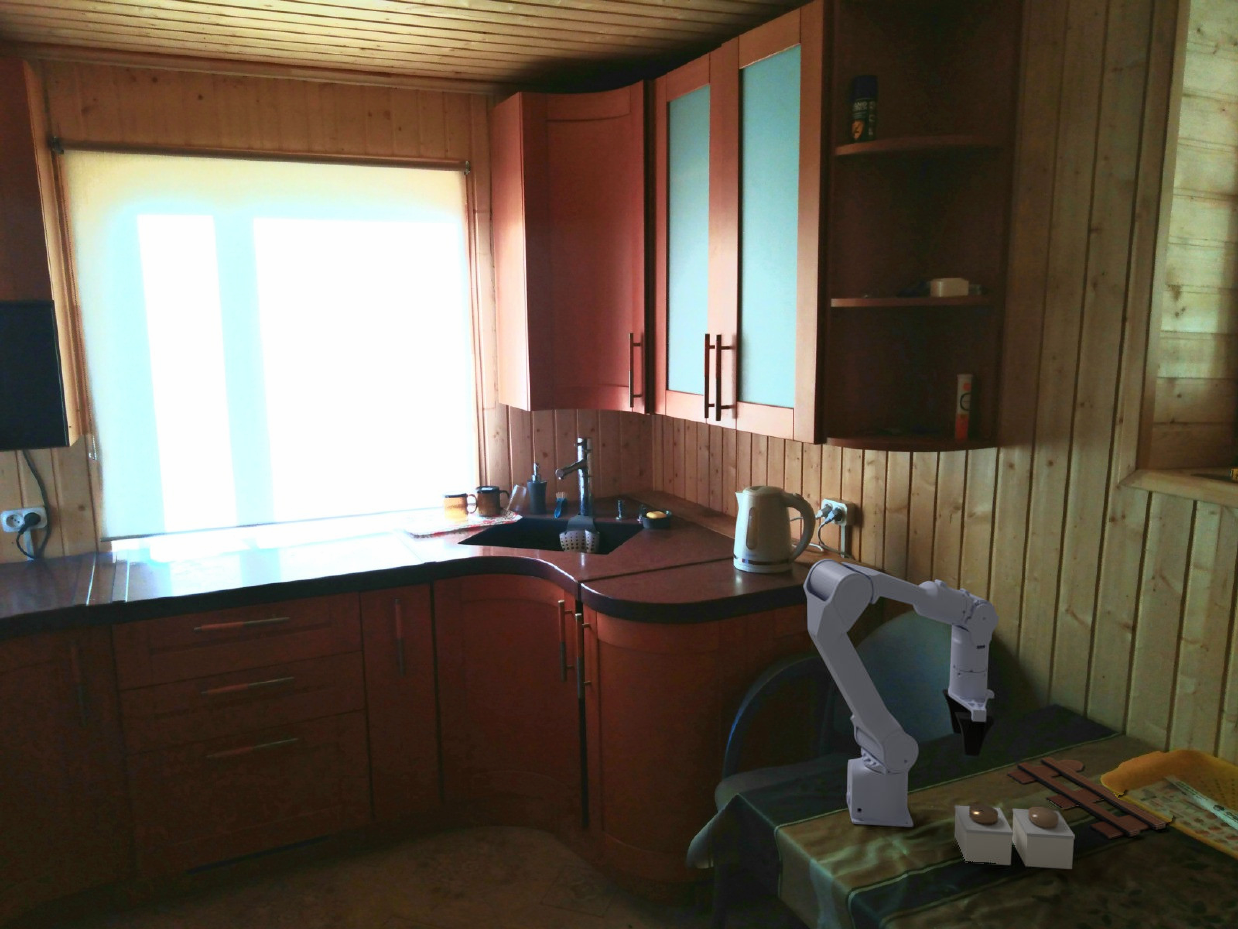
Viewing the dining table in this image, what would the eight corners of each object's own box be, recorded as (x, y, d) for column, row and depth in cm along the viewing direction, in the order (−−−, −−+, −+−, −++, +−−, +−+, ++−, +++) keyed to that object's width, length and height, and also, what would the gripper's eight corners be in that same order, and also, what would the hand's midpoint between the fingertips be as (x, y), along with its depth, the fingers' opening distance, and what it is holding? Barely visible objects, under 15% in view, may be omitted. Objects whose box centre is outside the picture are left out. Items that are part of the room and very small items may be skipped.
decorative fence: (1113, 847, 130) (1185, 827, 135) (1114, 837, 130) (1186, 817, 135) (1002, 776, 152) (1067, 761, 157) (1002, 767, 152) (1068, 752, 156)
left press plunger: (971, 853, 127) (973, 817, 126) (964, 838, 131) (966, 803, 130) (999, 855, 127) (1001, 819, 126) (991, 839, 131) (993, 804, 130)
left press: (964, 862, 126) (966, 829, 125) (951, 833, 134) (953, 801, 133) (1011, 865, 125) (1013, 832, 125) (996, 835, 133) (997, 804, 132)
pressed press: (1025, 866, 125) (1027, 825, 124) (1008, 836, 133) (1010, 797, 132) (1072, 869, 124) (1075, 827, 123) (1053, 839, 132) (1056, 799, 131)
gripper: (1008, 684, 132) (1004, 766, 134) (982, 650, 147) (978, 725, 149) (960, 682, 133) (957, 764, 135) (939, 649, 148) (936, 723, 150)
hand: (965, 743), depth 142 cm, fingers open, 7 cm apart
